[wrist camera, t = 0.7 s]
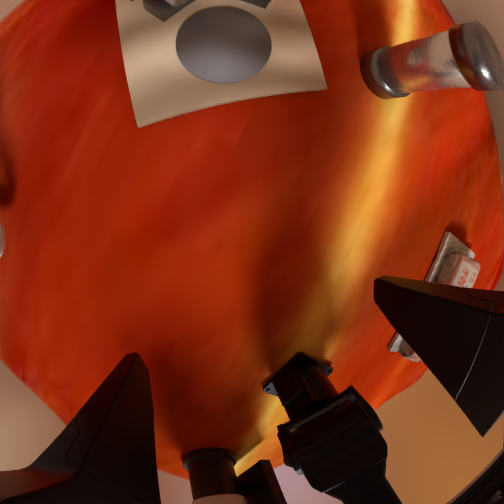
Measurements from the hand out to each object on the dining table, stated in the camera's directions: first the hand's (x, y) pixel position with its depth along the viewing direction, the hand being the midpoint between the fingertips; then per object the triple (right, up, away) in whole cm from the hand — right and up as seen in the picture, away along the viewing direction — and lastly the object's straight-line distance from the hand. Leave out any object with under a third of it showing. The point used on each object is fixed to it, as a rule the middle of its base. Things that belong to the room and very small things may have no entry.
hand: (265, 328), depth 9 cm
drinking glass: (+12, +20, +11) cm, 26 cm away
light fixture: (-6, -30, +24) cm, 39 cm away
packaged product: (+25, -4, +24) cm, 35 cm away
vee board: (-3, +21, +6) cm, 22 cm away
